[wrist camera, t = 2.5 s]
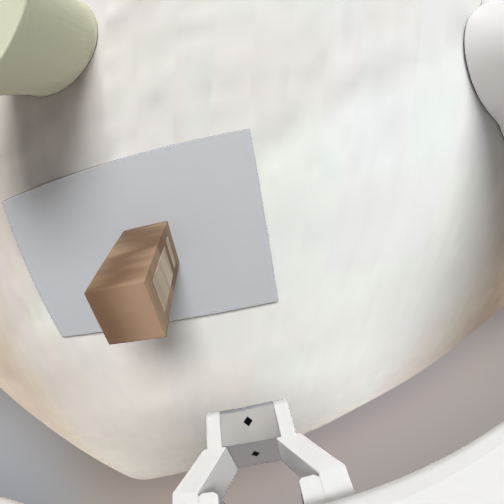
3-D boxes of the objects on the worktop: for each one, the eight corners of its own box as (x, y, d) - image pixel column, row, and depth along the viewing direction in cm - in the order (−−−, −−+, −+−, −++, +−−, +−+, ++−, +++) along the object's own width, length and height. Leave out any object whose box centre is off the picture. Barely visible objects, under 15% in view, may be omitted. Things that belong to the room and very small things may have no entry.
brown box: (167, 220, 26) (144, 281, 17) (180, 262, 28) (166, 336, 19) (123, 230, 26) (84, 293, 17) (137, 271, 28) (109, 344, 19)
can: (22, 114, 20) (-71, 132, 10) (4, 33, 16) (-81, 19, 6) (109, 66, 20) (33, 43, 9) (87, -18, 16) (21, -72, 5)
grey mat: (249, 128, 24) (249, 129, 24) (277, 298, 31) (278, 300, 31) (4, 200, 23) (2, 201, 23) (63, 334, 30) (62, 336, 30)
